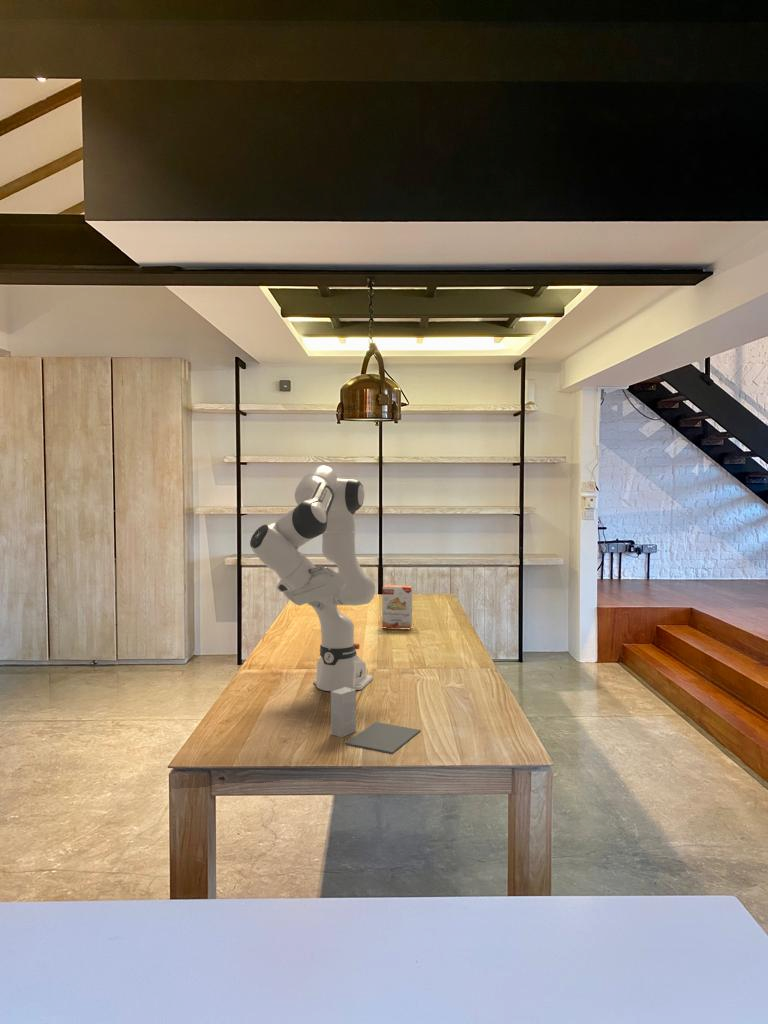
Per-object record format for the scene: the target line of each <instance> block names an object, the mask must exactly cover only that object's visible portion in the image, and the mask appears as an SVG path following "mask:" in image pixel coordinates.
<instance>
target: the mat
mask: <svg viewBox="0 0 768 1024" xmlns="http://www.w3.org/2000/svg"><path fill="white" fill-rule="evenodd" d="M420 732H421V729H417V728H411V727H405V726H401V725H393V724H389V723H388V724H387V723H382V722H377V721H375V722H374V723H372V724H371V725H369V726H367V727H366V728H365V729H363V730H362V731H361V732H359V733H357V734H356V735H354V736H353V737H351V738H350V739H348V740H347V741H345V742H344V745H346V746H351V747H357V748H362V749H368V750H373V751H378V752H382V753H387V754H394V753H395V752H397V751H398V750H400V748H402V747H403V746H404V745H405V744H406V743H408V742H409V741H410V740H412V739H413V738H415V736H417V735H418V734H419V733H420Z"/></svg>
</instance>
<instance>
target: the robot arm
mask: <svg viewBox="0 0 768 1024" xmlns="http://www.w3.org/2000/svg"><path fill="white" fill-rule="evenodd" d="M294 500H295V503H296V505H297V506H296V507H294V508H293V509H292V510H290V511H289V512H287V513H285V514H284V515H283V516H281V517H279V518H278V519H277V520H275V521H274V522H272V523H270V524H263V525H261V526H259V527H258V528H257V529H256V530H255V532H253V534H252V535H251V537H250V538H251V539H250V541H249V544H250V545H249V547H250V549H251V550H252V552H253V553H254V554H255V555H256V557H257V558H258V559H259V560H260V561H261V562H262V563H263V564H264V565H265V566H266V567H267V568H268V569H269V570H272V571H274V572H275V574H277V576H278V578H279V579H280V580H279V582H278V584H277V585H276V589H277V591H279V592H281V593H283V595H284V596H285V597H286V598H287V599H288V600H290V602H292V603H294V605H297V606H303V605H305V604H307V605H308V606H310V607H312V608H313V609H314V611H315V613H316V615H317V617H318V620H319V623H320V624H319V625H320V634H321V635H320V636H321V638H320V640H321V643H320V645H319V646H320V647H319V656H320V658H318V660H317V666H316V676H315V678H314V679H313V684H315V686H316V687H317V689H319V690H321V691H326V692H332V691H335V690H338V689H341V688H343V687H347V688H351V689H355V690H356V691H361V690H363V689H365V687H366V686H367V685H368V684H369V683H370V682H371V681H372V680H373V679H374V678H373V675H371V674H369V673H367V664H366V662H365V661H364V660H363V659H362V658H361V657H359V655H357V650H359V649H360V643H355V641H354V640H355V639H354V637H355V633H354V632H355V631H354V628H355V625H354V622H353V621H352V619H351V618H350V617H349V616H347V615H345V614H343V613H342V612H340V610H339V609H338V606H353V607H356V606H362V605H367V604H369V603H371V602H372V600H373V598H374V597H375V595H376V585H375V582H374V580H373V579H372V577H371V576H370V575H369V574H368V573H366V572H365V571H364V570H363V568H362V566H361V565H360V564H359V561H358V559H357V556H356V544H355V543H356V542H355V541H356V538H355V537H356V529H355V527H356V525H355V514H356V512H357V511H358V510H361V509H360V508H362V506H363V505H364V501H365V489H364V485H363V484H362V483H361V481H359V480H357V479H353V478H349V479H347V478H338V475H337V472H335V470H334V469H333V468H332V467H330V466H328V465H318V466H317V465H316V466H315V467H314V468H312V469H311V470H309V471H308V472H307V473H306V474H305V475H304V476H303V477H302V478H301V480H300V481H299V483H298V485H297V486H296V489H295V492H294ZM321 535H322V539H321V540H322V543H321V545H322V546H321V548H322V551H321V552H322V555H323V556H324V558H325V559H326V560H328V561H329V562H331V563H333V564H334V565H336V567H337V568H338V572H336V571H335V570H333V569H332V568H330V567H328V566H322V565H318V566H316V565H315V564H314V563H313V562H312V561H311V560H309V558H308V557H306V556H305V554H303V553H302V552H300V551H299V548H300V547H302V546H304V545H305V544H307V543H308V542H310V541H312V540H313V539H315V538H317V537H319V536H321Z"/></svg>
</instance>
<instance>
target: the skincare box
mask: <svg viewBox="0 0 768 1024" xmlns="http://www.w3.org/2000/svg"><path fill="white" fill-rule="evenodd" d="M356 694H357V690H355V689H351V688H347V687H343V688H341V689H338V690H335V691H330V734H331V735H332V736H336V737H338V738H344V737H346V736H349V735H351V734H354V733H355V732H357V717H356V716H357V715H356V713H357V709H356V708H357V705H356V701H357V699H356V696H357V695H356Z"/></svg>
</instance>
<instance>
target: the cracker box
mask: <svg viewBox="0 0 768 1024" xmlns="http://www.w3.org/2000/svg"><path fill="white" fill-rule="evenodd" d="M381 617H382V619H381V620H382V621H381V622H382V624H381V625H382V627H386V628H411V627H413V585H393V584H392V585H391V584H384V585H383V586H382V615H381ZM382 627H381V628H382ZM411 629H412V628H411Z"/></svg>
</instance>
